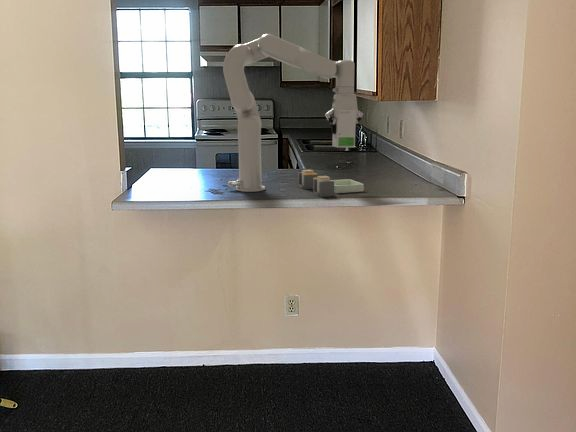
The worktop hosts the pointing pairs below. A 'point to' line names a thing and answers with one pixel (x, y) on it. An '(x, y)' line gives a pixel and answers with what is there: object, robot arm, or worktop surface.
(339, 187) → the tray
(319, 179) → the cartridges
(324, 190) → the rail
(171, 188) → the worktop surface
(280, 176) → the worktop surface
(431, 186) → the worktop surface
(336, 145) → the skincare box
